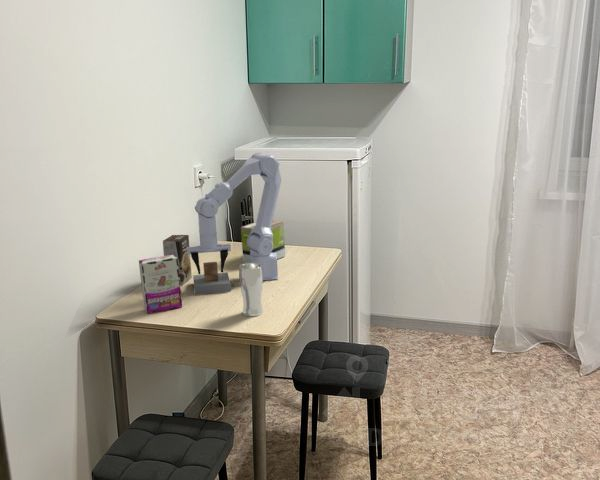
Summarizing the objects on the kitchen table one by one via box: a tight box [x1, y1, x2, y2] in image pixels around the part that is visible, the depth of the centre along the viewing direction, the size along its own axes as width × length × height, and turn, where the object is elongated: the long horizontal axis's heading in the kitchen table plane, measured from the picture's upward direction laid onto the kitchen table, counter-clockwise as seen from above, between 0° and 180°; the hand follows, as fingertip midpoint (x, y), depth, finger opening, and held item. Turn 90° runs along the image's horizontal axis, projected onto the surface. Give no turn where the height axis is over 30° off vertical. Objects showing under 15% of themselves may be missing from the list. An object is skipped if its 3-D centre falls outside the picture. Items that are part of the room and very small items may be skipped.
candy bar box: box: [138, 255, 183, 315], centre depth 182 cm, size 11×5×16 cm, turn 117°
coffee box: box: [162, 234, 193, 286], centre depth 208 cm, size 9×6×16 cm
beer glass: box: [238, 263, 264, 318], centre depth 177 cm, size 7×7×15 cm
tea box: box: [240, 219, 286, 264], centre depth 231 cm, size 15×10×15 cm, turn 144°
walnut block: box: [203, 261, 219, 282], centre depth 201 cm, size 4×4×6 cm
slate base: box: [192, 272, 231, 296], centre depth 202 cm, size 12×12×3 cm
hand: (210, 272), depth 201 cm, fingers open, 7 cm apart
